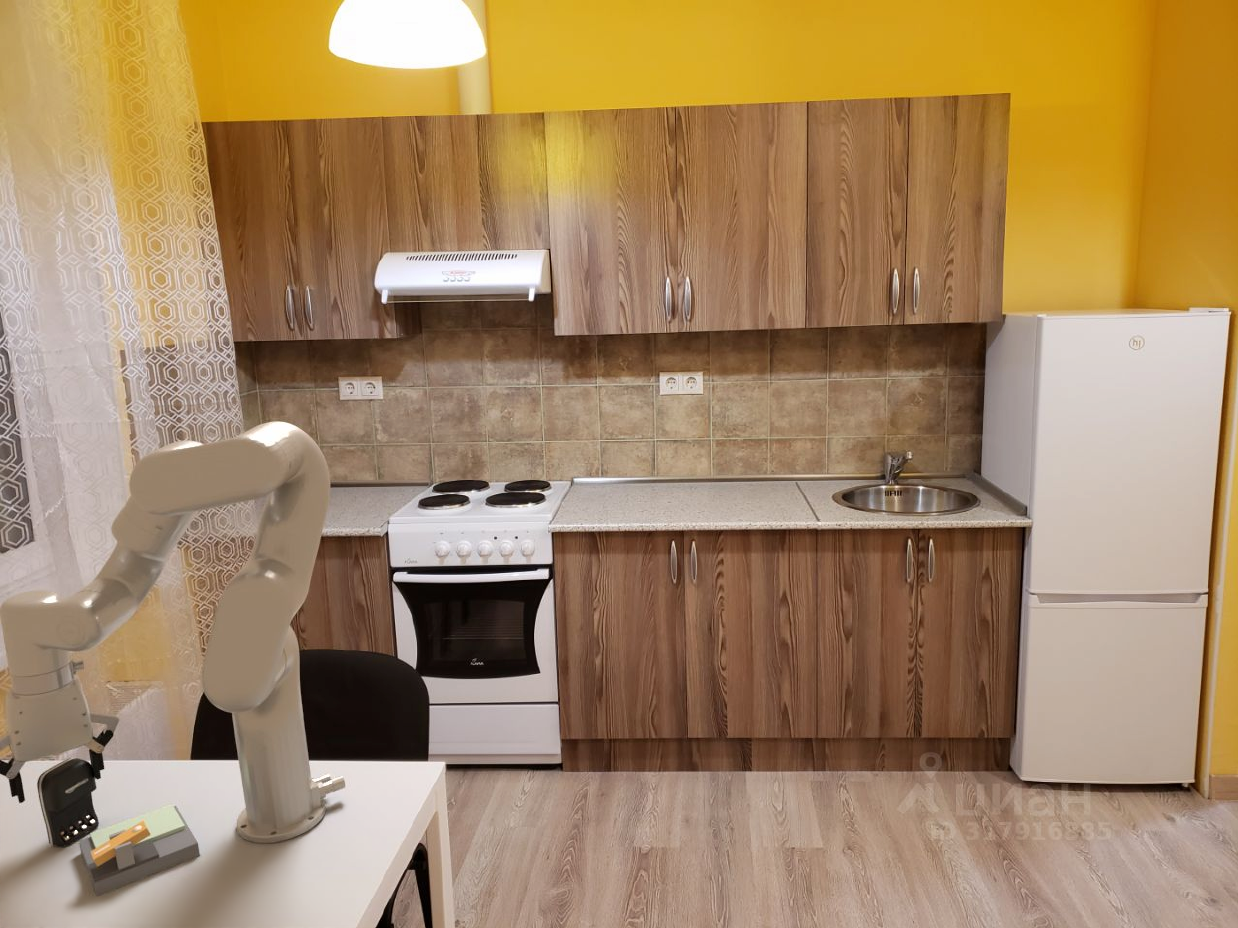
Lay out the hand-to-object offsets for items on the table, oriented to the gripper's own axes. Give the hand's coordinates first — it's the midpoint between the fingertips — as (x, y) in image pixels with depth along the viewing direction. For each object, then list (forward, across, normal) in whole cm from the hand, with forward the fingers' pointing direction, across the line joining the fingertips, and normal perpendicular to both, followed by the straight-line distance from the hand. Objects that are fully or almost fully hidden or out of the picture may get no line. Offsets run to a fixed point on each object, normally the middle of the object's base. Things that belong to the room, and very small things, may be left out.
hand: (59, 786), depth 136 cm
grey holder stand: (+8, -7, +12) cm, 16 cm away
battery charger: (+8, -1, +1) cm, 9 cm away
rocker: (+3, -5, +16) cm, 17 cm away
